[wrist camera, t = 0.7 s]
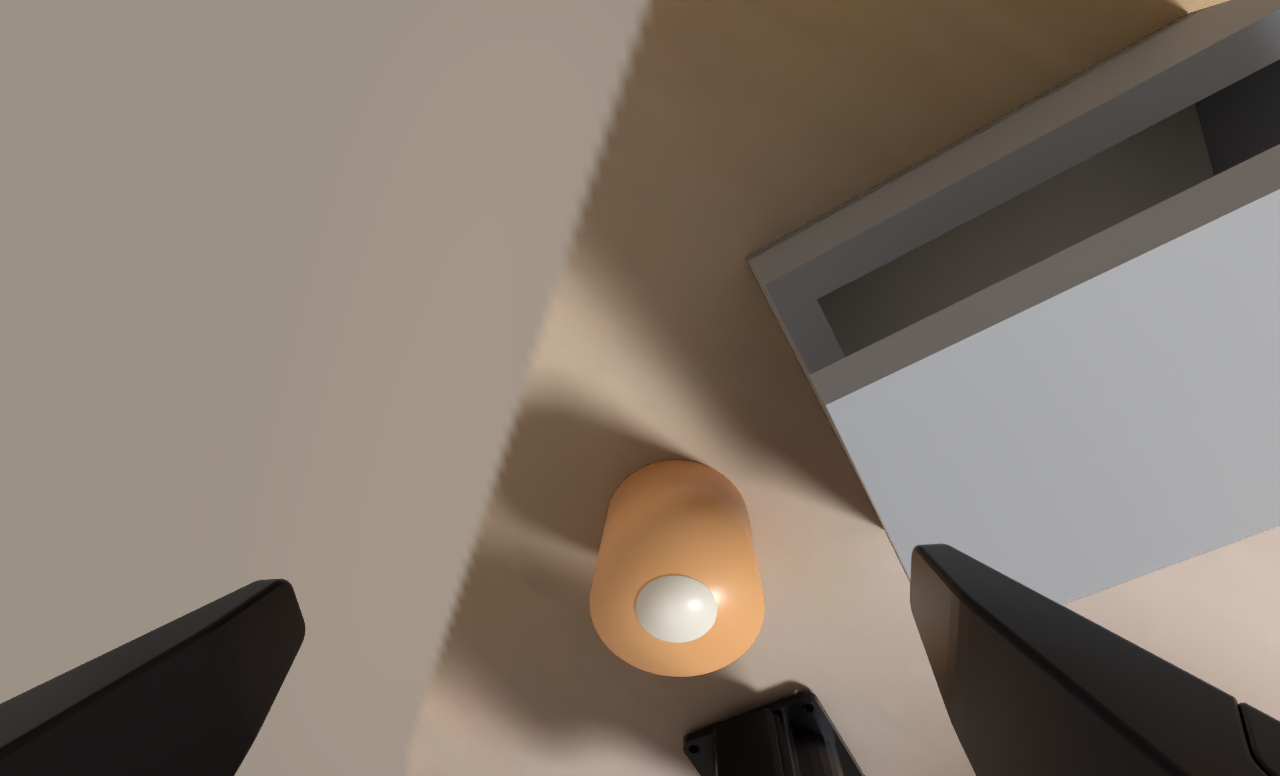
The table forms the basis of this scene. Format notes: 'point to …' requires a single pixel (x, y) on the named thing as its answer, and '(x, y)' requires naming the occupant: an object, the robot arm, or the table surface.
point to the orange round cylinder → (677, 572)
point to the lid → (1087, 400)
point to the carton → (1031, 183)
